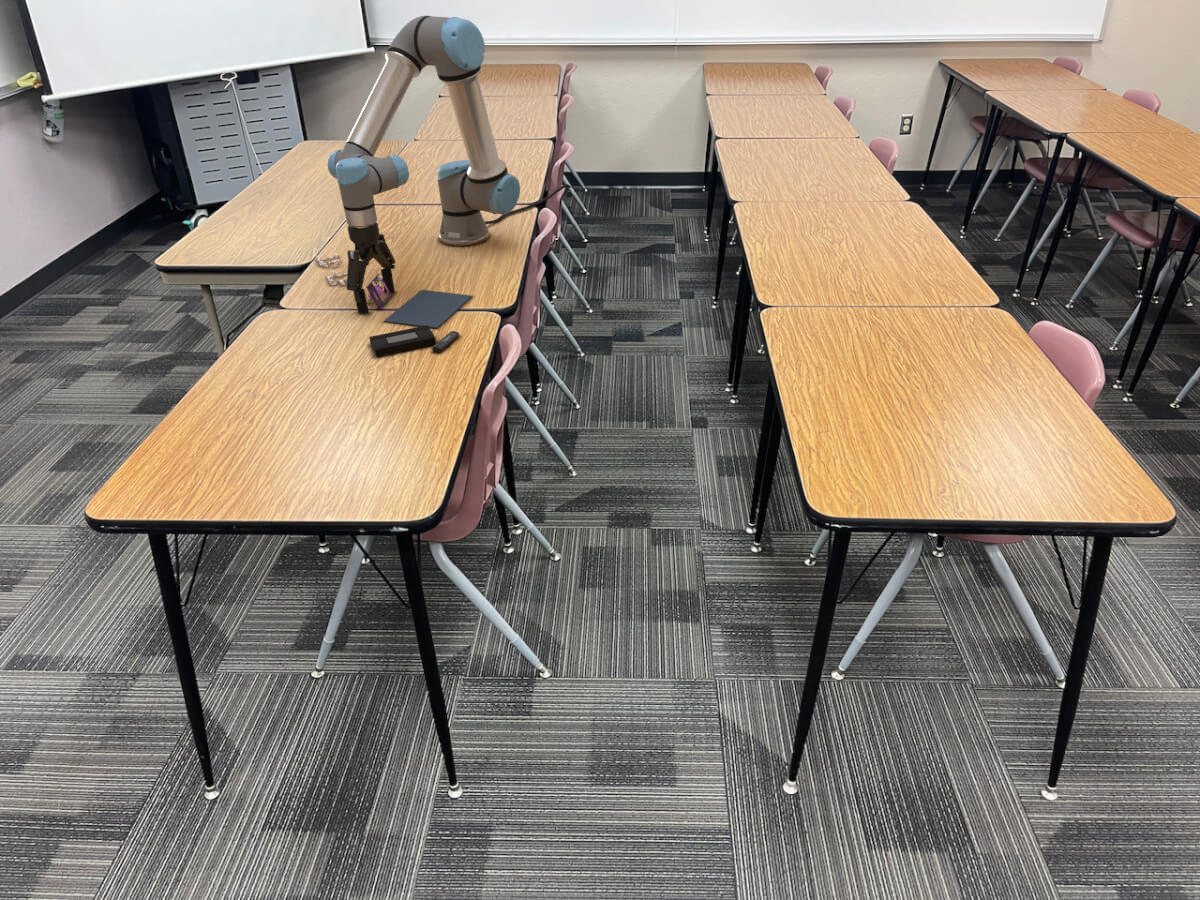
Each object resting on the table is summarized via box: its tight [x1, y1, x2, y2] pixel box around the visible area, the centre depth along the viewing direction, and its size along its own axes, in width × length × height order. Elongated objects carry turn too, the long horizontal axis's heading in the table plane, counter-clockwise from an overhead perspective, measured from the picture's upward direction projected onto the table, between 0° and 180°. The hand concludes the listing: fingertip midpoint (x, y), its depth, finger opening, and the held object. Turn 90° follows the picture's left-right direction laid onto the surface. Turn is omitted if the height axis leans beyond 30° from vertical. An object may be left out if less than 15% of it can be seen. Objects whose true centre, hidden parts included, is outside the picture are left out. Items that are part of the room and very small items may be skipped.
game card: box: [365, 273, 392, 311], centre depth 215 cm, size 7×5×9 cm
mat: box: [384, 289, 473, 330], centre depth 212 cm, size 20×15×1 cm
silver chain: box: [315, 252, 348, 287], centre depth 234 cm, size 7×25×2 cm, turn 25°
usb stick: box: [431, 330, 460, 353], centre depth 195 cm, size 10×3×2 cm, turn 158°
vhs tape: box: [368, 325, 437, 358], centre depth 195 cm, size 8×14×2 cm, turn 114°
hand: (377, 302), depth 216 cm, fingers open, 13 cm apart
